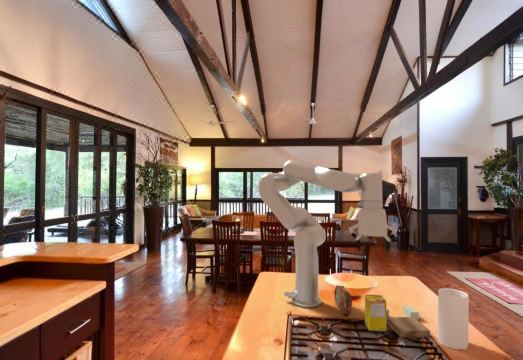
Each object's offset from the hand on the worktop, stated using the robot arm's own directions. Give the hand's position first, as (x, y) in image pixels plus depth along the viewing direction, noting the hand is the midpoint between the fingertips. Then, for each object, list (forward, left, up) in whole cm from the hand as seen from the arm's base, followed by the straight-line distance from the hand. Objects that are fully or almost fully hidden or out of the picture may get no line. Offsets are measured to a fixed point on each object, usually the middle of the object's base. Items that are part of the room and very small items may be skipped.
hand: (372, 250), depth 114 cm
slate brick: (+3, +1, -25) cm, 26 cm away
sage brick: (+15, +1, -25) cm, 30 cm away
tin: (-9, +8, -26) cm, 28 cm away
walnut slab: (+8, -9, -25) cm, 28 cm away
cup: (+18, -18, -25) cm, 36 cm away
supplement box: (-3, -8, -25) cm, 27 cm away
